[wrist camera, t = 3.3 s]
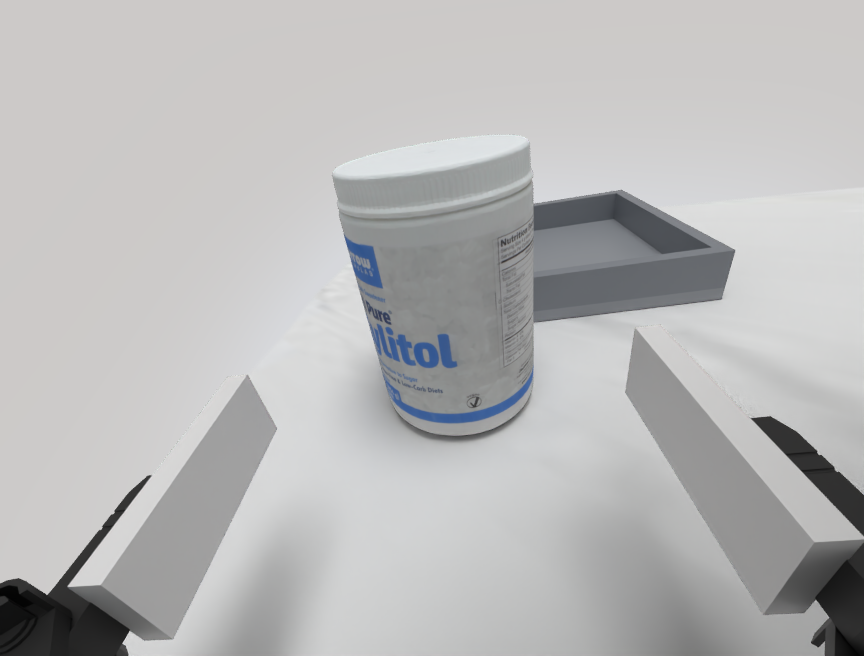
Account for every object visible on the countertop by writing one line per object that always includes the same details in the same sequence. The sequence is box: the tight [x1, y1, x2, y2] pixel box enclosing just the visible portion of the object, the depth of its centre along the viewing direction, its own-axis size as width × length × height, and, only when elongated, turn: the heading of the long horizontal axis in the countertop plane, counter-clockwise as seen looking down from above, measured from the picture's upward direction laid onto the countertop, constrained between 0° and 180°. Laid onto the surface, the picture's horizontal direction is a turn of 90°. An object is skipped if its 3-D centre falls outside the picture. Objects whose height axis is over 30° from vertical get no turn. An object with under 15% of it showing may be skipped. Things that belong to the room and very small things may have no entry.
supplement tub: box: [332, 135, 534, 436], centre depth 21 cm, size 10×10×15 cm
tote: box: [533, 190, 735, 322], centre depth 37 cm, size 17×20×4 cm
